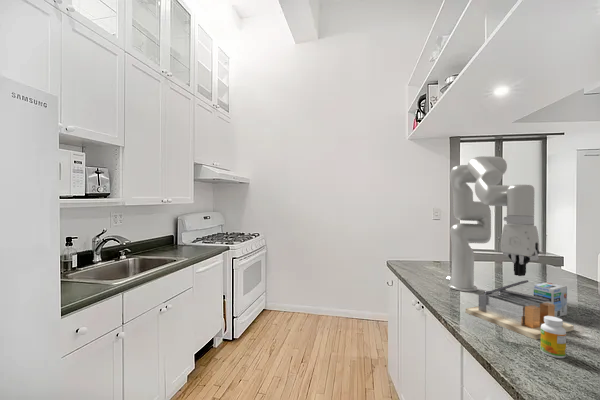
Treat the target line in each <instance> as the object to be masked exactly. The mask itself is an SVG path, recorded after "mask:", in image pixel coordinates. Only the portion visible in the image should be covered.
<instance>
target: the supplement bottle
mask: <svg viewBox="0 0 600 400" xmlns="http://www.w3.org/2000/svg"><path fill="white" fill-rule="evenodd" d="M544 322H545V323H544V324H542V325H541V339H540V348H539V349H540V351H541V352H542V354H545V355H547V356H549V357H552V358H557V359H564V358H566V355H567V332H566V330H565V329H564V328H563V327H562V326H563V322H564V320H563V319H562V318H560V317H553V316H544Z"/></svg>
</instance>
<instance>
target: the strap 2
mask: <svg viewBox="0 0 600 400" xmlns="http://www.w3.org/2000/svg"><path fill="white" fill-rule="evenodd" d="M498 292H499V293H502V292H503V293H508V294H512V295H517V296H521V297H525V298H530V299H534V300H539V301H543V302H547V301H549V299H546V298H541V297H536V296H534V295H531V294H526V293H523V292H517V291H512V290H508V289H504V290H500V291H498Z"/></svg>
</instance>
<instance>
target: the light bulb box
mask: <svg viewBox="0 0 600 400" xmlns="http://www.w3.org/2000/svg"><path fill="white" fill-rule="evenodd" d="M533 296H536V297H541V298H546V299H549V301H547V302H545V303H550V304H554V305H555V317H557V318H560V317H562V316H567V315H568V286H567V285H562V284H558V283H552V282H549V281H548V282H547V281H546V282H541V283H537V284H533ZM538 301H539V300H538ZM542 302H543V301H542Z"/></svg>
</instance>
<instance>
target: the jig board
mask: <svg viewBox="0 0 600 400" xmlns="http://www.w3.org/2000/svg"><path fill="white" fill-rule="evenodd" d="M465 313H466V314H469V315H471V316H474V317H477V318H479V319H482V320H483V321H486V322H490V323H491V324H494V325H496V326H499V327H502V328H505V329H507V330H510V331H512V332H515V333H517V334H520V335H523V336H526V337H527V338H530V339H532V340H541V325H542V324H543V323H540V327H537V328H530V327H527V326H525V325H523V326H521V325H518V324H515V323H512V322H510V321H507V320H504V319H501V318H499V317H496V316H493V315H490V314H488V313H485V312H482V311H479V305H477V306H473V307H472V306H471V307H466V308H465ZM562 327H563V328H564V329H565V330H566V333H567V332H571V331H574V329H575V326H574V325H573V324H570V323H567V322H564V321H563V326H562Z"/></svg>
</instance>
